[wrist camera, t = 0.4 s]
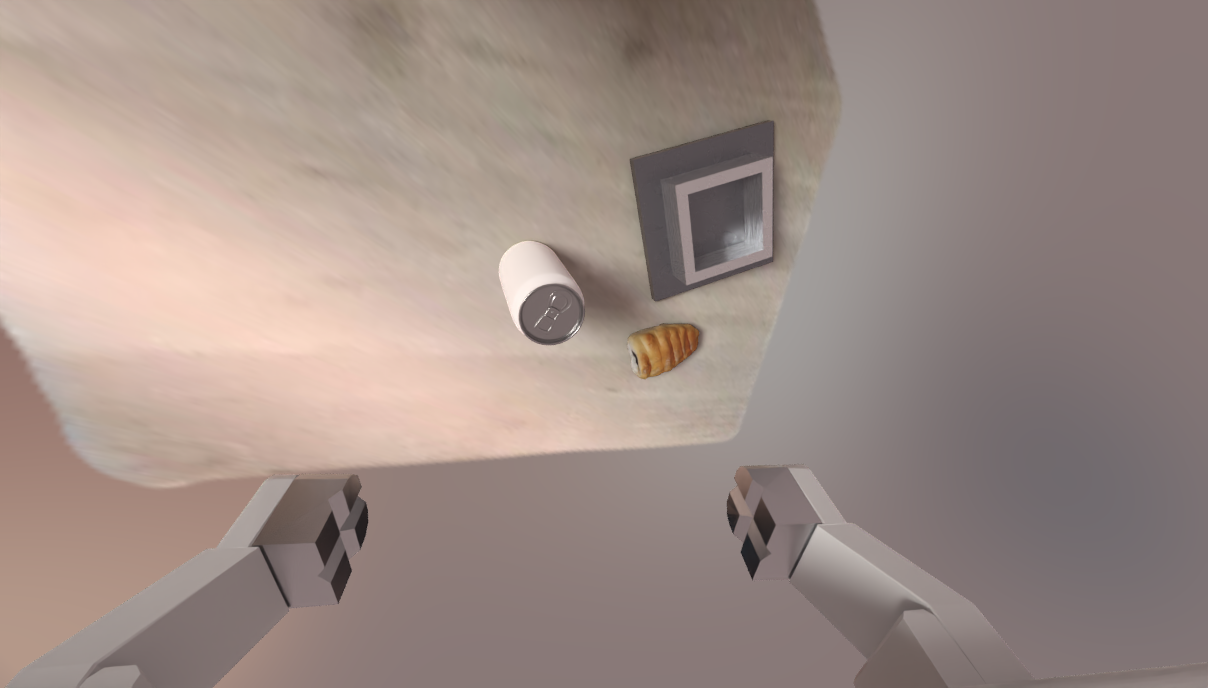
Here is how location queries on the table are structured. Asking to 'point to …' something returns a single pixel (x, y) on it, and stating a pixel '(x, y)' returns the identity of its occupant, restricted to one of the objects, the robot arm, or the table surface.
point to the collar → (706, 208)
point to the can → (541, 293)
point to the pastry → (661, 348)
